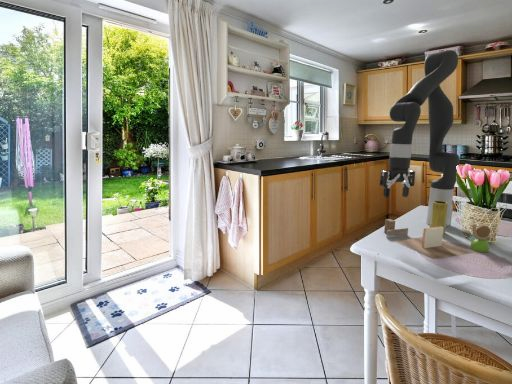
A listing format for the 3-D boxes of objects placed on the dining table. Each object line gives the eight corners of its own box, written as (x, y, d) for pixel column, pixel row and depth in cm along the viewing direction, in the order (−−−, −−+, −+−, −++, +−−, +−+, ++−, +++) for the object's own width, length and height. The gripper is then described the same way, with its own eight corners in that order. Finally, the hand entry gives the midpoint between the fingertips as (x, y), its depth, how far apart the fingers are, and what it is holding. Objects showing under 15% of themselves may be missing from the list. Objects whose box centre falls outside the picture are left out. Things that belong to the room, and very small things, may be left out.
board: (429, 239, 127) (429, 236, 126) (472, 256, 110) (473, 252, 110) (393, 244, 121) (393, 240, 120) (432, 263, 104) (433, 258, 104)
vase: (447, 238, 128) (451, 204, 125) (430, 237, 129) (435, 203, 126) (441, 233, 134) (446, 200, 131) (426, 232, 135) (430, 200, 132)
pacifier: (465, 245, 121) (484, 248, 118) (467, 230, 120) (486, 232, 117) (464, 240, 127) (482, 242, 124) (465, 225, 126) (484, 227, 123)
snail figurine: (463, 250, 115) (468, 218, 113) (481, 250, 115) (486, 219, 113) (473, 256, 110) (478, 223, 108) (492, 256, 110) (497, 223, 107)
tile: (438, 244, 117) (440, 226, 116) (441, 245, 116) (443, 227, 114) (421, 247, 114) (423, 228, 113) (424, 248, 113) (426, 229, 112)
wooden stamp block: (376, 236, 130) (377, 220, 128) (395, 234, 133) (397, 218, 131) (386, 241, 124) (388, 224, 123) (407, 239, 127) (408, 222, 126)
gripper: (408, 155, 128) (403, 194, 131) (378, 155, 124) (374, 195, 127) (422, 156, 120) (417, 198, 124) (391, 156, 117) (386, 199, 120)
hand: (395, 197), depth 125 cm, fingers open, 8 cm apart
